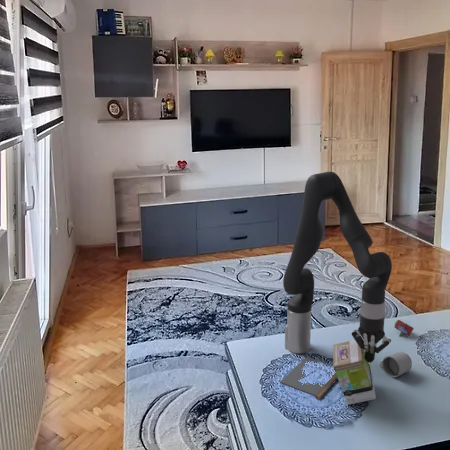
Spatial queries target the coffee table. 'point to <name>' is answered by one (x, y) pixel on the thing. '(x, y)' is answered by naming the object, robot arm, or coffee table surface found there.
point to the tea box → (353, 372)
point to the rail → (326, 387)
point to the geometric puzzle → (403, 327)
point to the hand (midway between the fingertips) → (369, 361)
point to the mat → (297, 374)
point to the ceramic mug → (396, 364)
